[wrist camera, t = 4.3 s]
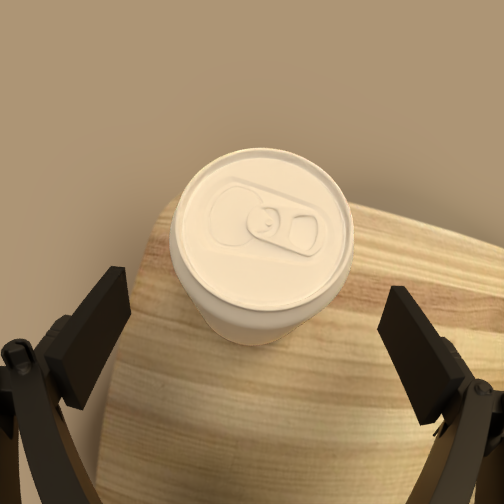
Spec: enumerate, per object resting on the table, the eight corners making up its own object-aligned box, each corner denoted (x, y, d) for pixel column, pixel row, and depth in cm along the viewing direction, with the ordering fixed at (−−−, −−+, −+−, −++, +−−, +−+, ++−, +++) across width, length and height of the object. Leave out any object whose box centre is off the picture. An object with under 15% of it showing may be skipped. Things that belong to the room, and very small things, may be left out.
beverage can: (215, 229, 25) (201, 124, 14) (314, 255, 25) (371, 166, 14) (183, 328, 22) (132, 289, 11) (292, 358, 22) (348, 347, 11)
